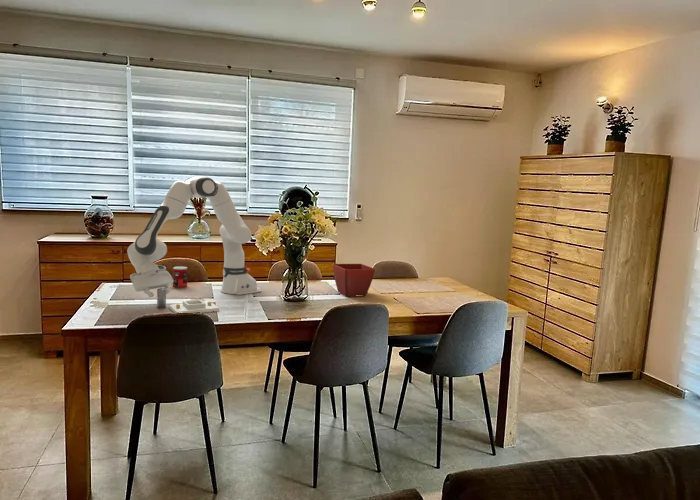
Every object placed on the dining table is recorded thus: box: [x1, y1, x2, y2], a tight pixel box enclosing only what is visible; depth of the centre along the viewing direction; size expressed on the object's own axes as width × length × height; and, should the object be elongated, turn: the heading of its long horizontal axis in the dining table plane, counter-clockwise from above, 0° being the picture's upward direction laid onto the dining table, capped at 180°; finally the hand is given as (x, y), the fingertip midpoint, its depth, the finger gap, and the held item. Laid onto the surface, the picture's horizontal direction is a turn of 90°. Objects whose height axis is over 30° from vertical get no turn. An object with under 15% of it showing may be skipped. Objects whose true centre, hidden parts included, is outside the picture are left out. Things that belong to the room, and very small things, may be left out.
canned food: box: [172, 265, 189, 289], centre depth 283 cm, size 8×8×11 cm
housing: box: [168, 299, 220, 314], centre depth 237 cm, size 20×14×4 cm
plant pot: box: [332, 263, 376, 297], centre depth 289 cm, size 19×19×17 cm
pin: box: [156, 287, 167, 309], centre depth 237 cm, size 4×4×9 cm
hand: (160, 294), depth 237 cm, fingers open, 8 cm apart
